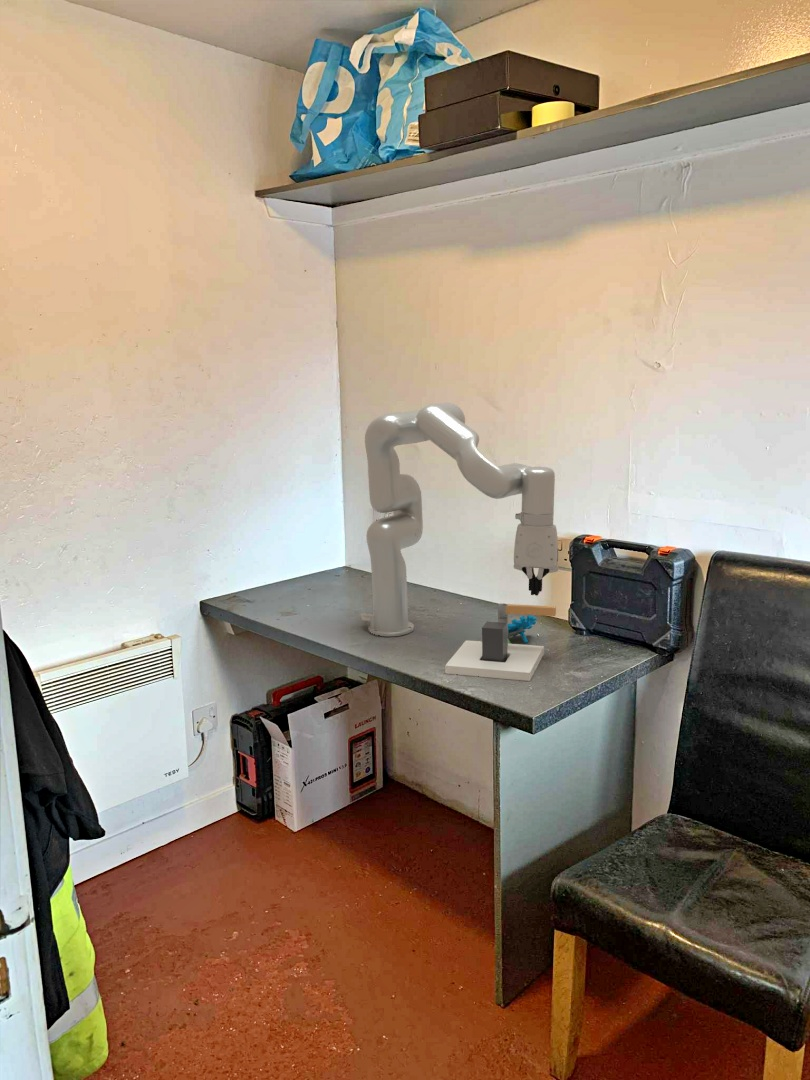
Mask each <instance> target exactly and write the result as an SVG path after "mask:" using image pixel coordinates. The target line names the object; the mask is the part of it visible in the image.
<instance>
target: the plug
mask: <svg viewBox="0 0 810 1080" xmlns="http://www.w3.org/2000/svg"><path fill="white" fill-rule="evenodd" d="M481 641H482V661H493V662H506V661H507V623H501V622H498V621H486V622H485V623H484V624H483V626H481Z"/></svg>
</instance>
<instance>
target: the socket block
mask: <svg viewBox="0 0 810 1080" xmlns="http://www.w3.org/2000/svg"><path fill="white" fill-rule="evenodd" d="M508 617H509V616H508ZM508 617H506V618H500V617H498V616H497V622H501V623H507V661H506V662H493V661H482V640H480V641H479V640H467V639H466V640H465V641H464V642H463V643H462V645H461V646H460V647H459V648H458V649H457V651H456V652H454V654H453V656H452V657H451V658H450V659H449V660H448V661H447V663H446V664H445V666H444V670H445V672H444V673H446V675H447V674H448V675H456V674H458V675H459V676H460V675H461V676H468V677H469V676H470V677H478V676H479V677H480V678H491V679H492V678H493V679H501V680H511V681H512V680H513V681H524V682H525V681H526V682H531V680H532V678H533V676H534V674H535V673H536V670H537V668H538V666H539V664H540V662H541V660H542V658H543V656H544V654H545V646H544V645H531V644H520V643H511V644H508V639H509V637H508V624H509V623H508V622H509V618H508Z"/></svg>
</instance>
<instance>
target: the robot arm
mask: <svg viewBox="0 0 810 1080" xmlns="http://www.w3.org/2000/svg"><path fill="white" fill-rule="evenodd" d="M427 441H430V442H431V443H433V444H434V445H435V446H437V447H438V448H439V449H441V450H442V451H443V452H444V453H446V454H447V455H448V456H450V457H451V458H452V459H454V460H455V462H456V465H457V467H458V470H459V471H460V473H461V474H462V476H463V478H464V479H465V480H466V481H467V482H468V483H470V485H472V486H473V487H474V488H476V489H477V490H478V491H479V492H480V493H482V494H483V495H485V496H487V497H489V498H491V499H496V500H497V499H499V500H500V499H504V498H508V497H512V496H517V495H520V494H521V511H520V512H519V513H515V520H519V521H520V523H518V524H517V527H516V531H515V536H514V537H515V539H514V550H513V569H515V570H517V571H521V572H523V573H524V574H525V576H526V577H527V578H528V591H530V596H536V597H538V596H539V594H540V592H542V590H543V578H544V577H545V576H547V574H551V573H557V572H558V571H559V570H560V568H559V563H558V561H559V539H558V531H557V530H558V529H557V526H556V524H554V512H555V510H554V509H555V480H556V479H555V478H556V476H555V471H554V470H553V469H552V468H551V467H546V466H530V465H527V464H522V463H509V464H504V465H503V464H502V465H495V464H494V463H493V462H492V461H490V460H489V459H487V458H486V457H485V456H484V455H482V453H481V452H480V451H479V450H478V448H477V447H478V446H479V442H480V436H479V434H478V433H477V432H476V431H475V430H474V429H472V428H471V427H470V426H468V425H467V424H466V415H465V414H464V411H463V410H462V409H461V407H460V406H458V405H456V404H455V403H451V402H442V403H441V402H440V403H432V404H431V403H430V404H428V405H425V406H423V407H422V408H420V409H419V410H414V411H413V410H412V411H402V412H401V411H400V412H399V411H398V412H390V413H385V414H383V415H379V416H378V417H376V418H374V419H373V420H372V421H371V422H370V423H369V425H368V426H367V428H366V431H365V434H364V445H365V446H364V447H365V454H366V460H367V475H368V477H367V479H368V492H369V502H370V506H371V508H372V509H373V510H374V511H375V512H377V513H382V514H386V513H392V512H393V513H392V514H393V515H389V516H386V517H385V516H384V517H382V518H378V519H377V520H375V521H374V522H372V523H371V524H370V525H369V527H368V528H367V531H366V543H367V547H368V551H369V558H370V565H371V566H370V568H371V584H372V585H371V587H372V588H371V589H372V610H373V611H372V613H363V612H362V613H360V621H361V622H362V623H369V625H368V632H369V631H370V632H371V633H370V632H369V633H370V634H372V633H373V634H372V635H374V634H375V635H374V636H378V635H380V637H400V636H406V635H407V634H410V633H412V632H413V631H414V630H415V625H414V623H412V622H411V621H409V612H408V611H409V610H408V609H409V608H408V581H407V577H408V576H407V564H406V560H405V558H404V557H403V554H402V552H401V551H402V550H403V549H406V548H409V547H412V546H414V545H416V544H417V543H418V542H420V540H421V538H422V535H423V529H424V525H423V524H424V523H423V521H424V520H423V501H422V491H421V487H420V484H419V483H418V481H417V480H416V478H414V477H413V476H411V475H410V474H408V473H407V474H406V473H401V470H400V469H401V467H400V465H401V463H400V459H399V456H398V453H397V451H396V450H395V447H397V446H402V445H403V446H404V445H411V444H417V443H423V442H427ZM535 569H538V571H537V575H536V574H535Z"/></svg>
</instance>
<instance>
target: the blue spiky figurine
mask: <svg viewBox="0 0 810 1080" xmlns="http://www.w3.org/2000/svg"><path fill="white" fill-rule="evenodd" d="M536 621H537V617H536V615H527V616H526V615H522V616H520V617H519V620H517V618H514V619H512V620H511V623H508V644H512V643H511V641H510V639H509V638H511V637H516V636H518V635H520V636H521V638H522V641H523V643H524V644H528V643H529V640H528V638H527V635H526V634H525V633H526V630H530V629H532V628H533V625H536V623H537V622H536Z"/></svg>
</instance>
